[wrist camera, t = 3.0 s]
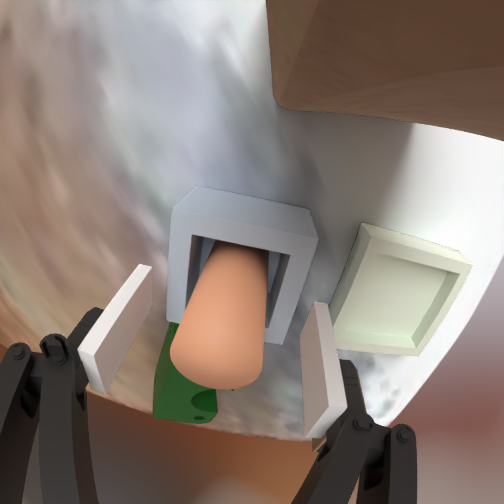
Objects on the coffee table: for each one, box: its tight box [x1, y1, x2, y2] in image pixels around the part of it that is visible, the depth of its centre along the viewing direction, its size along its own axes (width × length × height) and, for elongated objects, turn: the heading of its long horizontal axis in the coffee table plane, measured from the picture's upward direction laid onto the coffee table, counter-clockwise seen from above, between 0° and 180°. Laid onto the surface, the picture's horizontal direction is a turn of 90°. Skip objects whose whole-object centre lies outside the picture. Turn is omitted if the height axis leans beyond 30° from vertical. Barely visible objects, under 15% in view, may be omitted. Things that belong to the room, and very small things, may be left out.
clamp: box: [152, 322, 234, 424], centre depth 25 cm, size 12×6×9 cm, turn 151°
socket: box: [166, 186, 319, 345], centre depth 19 cm, size 8×8×5 cm
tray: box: [328, 222, 473, 356], centre depth 21 cm, size 10×10×2 cm
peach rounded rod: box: [170, 239, 269, 390], centre depth 16 cm, size 4×4×10 cm
